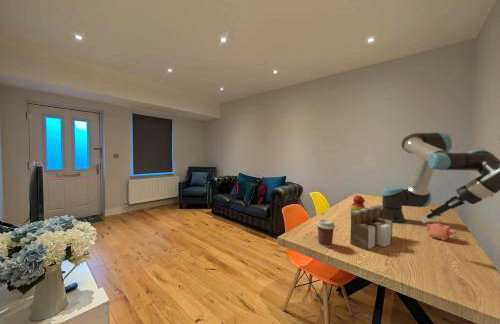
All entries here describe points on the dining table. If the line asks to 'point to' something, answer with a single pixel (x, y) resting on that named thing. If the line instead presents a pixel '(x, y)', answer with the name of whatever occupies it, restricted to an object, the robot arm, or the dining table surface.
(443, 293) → the dining table surface
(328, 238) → the coffee cup
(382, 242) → the key two
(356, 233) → the brown slotted rack
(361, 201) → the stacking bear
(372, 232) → the key three
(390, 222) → the key one
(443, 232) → the pink cube teapot
